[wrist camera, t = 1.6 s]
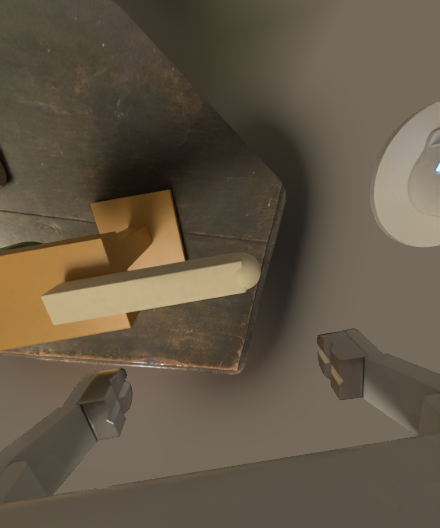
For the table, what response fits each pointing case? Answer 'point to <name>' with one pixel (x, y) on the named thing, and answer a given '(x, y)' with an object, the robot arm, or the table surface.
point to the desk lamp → (85, 266)
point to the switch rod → (151, 287)
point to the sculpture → (2, 176)
